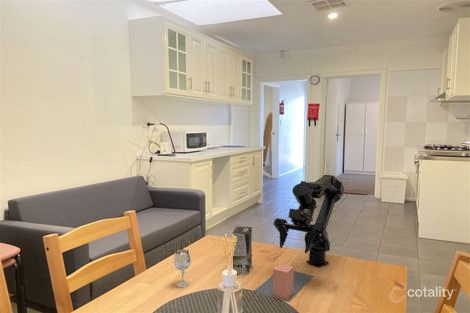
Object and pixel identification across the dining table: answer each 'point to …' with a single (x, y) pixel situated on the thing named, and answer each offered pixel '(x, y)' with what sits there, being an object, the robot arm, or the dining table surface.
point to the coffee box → (243, 250)
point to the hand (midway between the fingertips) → (292, 250)
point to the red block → (283, 281)
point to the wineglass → (182, 264)
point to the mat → (299, 283)
